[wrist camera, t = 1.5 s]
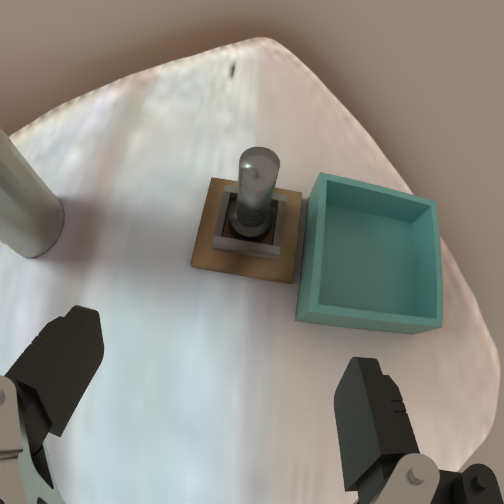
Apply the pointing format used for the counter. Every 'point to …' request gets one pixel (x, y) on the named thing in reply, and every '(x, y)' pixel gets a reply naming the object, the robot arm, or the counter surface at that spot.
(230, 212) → the tube
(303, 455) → the counter surface
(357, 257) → the bin
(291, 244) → the square framed wooden base
